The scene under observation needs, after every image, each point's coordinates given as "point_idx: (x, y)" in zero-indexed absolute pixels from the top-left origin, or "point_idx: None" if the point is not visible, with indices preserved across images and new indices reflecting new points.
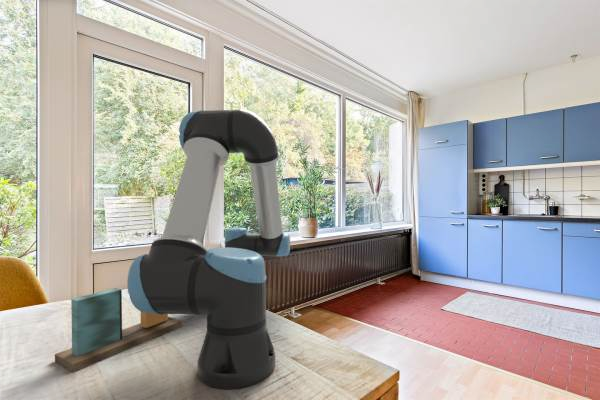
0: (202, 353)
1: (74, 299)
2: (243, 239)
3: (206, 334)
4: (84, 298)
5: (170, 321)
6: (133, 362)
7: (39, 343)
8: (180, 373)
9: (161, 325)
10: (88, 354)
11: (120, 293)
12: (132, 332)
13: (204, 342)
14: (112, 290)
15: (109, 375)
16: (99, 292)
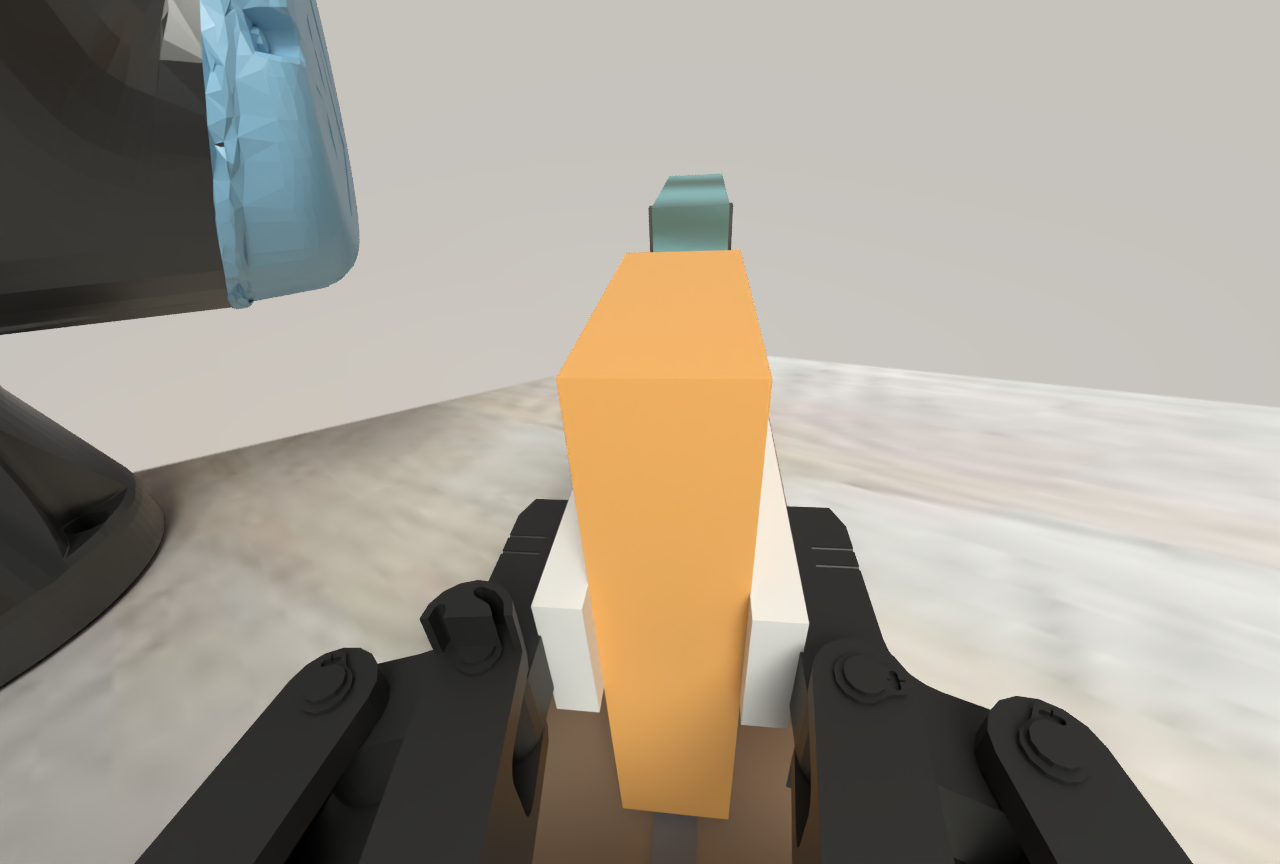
0: (83, 440)
1: (700, 175)
2: None
3: (7, 397)
4: (675, 179)
5: (592, 824)
6: (490, 480)
7: (1011, 423)
8: (248, 502)
9: (602, 705)
10: None
11: (650, 233)
12: None
13: (45, 418)
14: (689, 199)
15: (510, 428)
16: (719, 189)
